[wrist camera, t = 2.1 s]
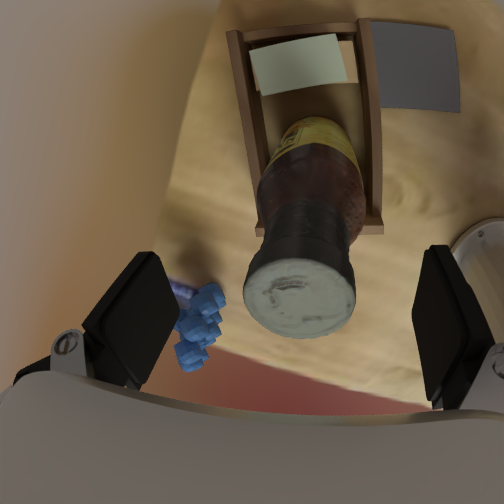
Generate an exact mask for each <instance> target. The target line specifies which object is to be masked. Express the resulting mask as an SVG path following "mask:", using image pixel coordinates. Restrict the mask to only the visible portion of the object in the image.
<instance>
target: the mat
mask: <svg viewBox="0 0 504 504" xmlns="http://www.w3.org/2000/svg"><path fill="white" fill-rule="evenodd" d="M370 26H371V32H372V38H373V45H374V52H375V60H376V68H377V77H378V87H379V98H380V108H406V109H423V110H435V111H446V112H455V113H460V87H459V73H458V62H457V52H456V45H455V37H454V31H453V30H448V29H442V28H436V27H429V26H422V25H413V24H404V23H391V22H372V21H370Z"/></svg>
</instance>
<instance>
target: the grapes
mask: <svg viewBox="0 0 504 504" xmlns="http://www.w3.org/2000/svg"><path fill="white" fill-rule="evenodd" d="M198 292H199V294H197V295H195V296H193V297H192V298H190V299H189V301H190V304H191V306H190V309H188V310H186V309H180V316H179V318H178V320H177V322H176V324H175V326H174V328H173V329H175V330H176V331H178V332H179V335H180V339H181V342H179V343H177V344H176V345H174V348H175V351H176V356H177V359H178V362H179V365H180V367H181V368H182V369H183V370H184V371H186V372H191V371H195V370H197V369H199V368H200V367H202V366H204V364H203V361H205V360H207V359H208V358H209V356H208V353H207V351H206V349H205V347H207V346H209V345H210V344H212V343H214V342H215V341H216V339H215V338H216V337H218V336H220V335H221V331H220V328H219V326H218V324H219V323H220V322H222V321H223V320H222V317H221V315H220V313H219V311H218V310H219V309H220V308H222V307H224V306H225V305H226V302H225V296H224V293H223V291H222V289H221V288H220V286H219V285H218V284H217V283H209V284H206V285H205V286H203V287H201V288H200V289H199V290H198Z"/></svg>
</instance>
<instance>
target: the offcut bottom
mask: <svg viewBox="0 0 504 504" xmlns="http://www.w3.org/2000/svg"><path fill="white" fill-rule="evenodd" d="M338 44H339V48H340V51H341V55H342V59H343V63H344V67H345V71H346V75H347V79H348V81H343V82H336V83H329V84H337V83H358V75H357V68H356V61H355V54H354V48H353V42H352V41H338ZM250 58H251V56H250ZM251 64H252V69H253V74H254V80H255V85H256V91H261V90H260V87H259V83H258V80H257V76H256V73H255V70H254V66H253V63H252V60H251Z"/></svg>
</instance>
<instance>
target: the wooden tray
mask: <svg viewBox="0 0 504 504" xmlns="http://www.w3.org/2000/svg"><path fill="white" fill-rule="evenodd" d="M328 34H336V36H354V40H355V46H356V53H357V60H358V68H359V76H360V85H361V95H362V106H363V119H364V135H365V157H366V196H365V199H366V215H365V224H364V226H363V228H362V231H361V232H360V233H359V235H368V234H384V224H383V221H382V218H381V213H382V130H381V112H380V98H379V87H378V77H377V68H376V60H375V52H374V45H373V38H372V32H371V26H370V21H369V18H358V19H357V21H356V23H320V24H305V25H294V26H285V27H277V28H269V29H263V30H256V31H250V32H245V33H242V32H240V31H238V30H232V31H227V32H226V36H227V42H228V47H229V53H230V58H231V64H232V69H233V75H234V80H235V86H236V92H237V97H238V103H239V108H240V114H241V120H242V126H243V131H244V137H245V143H246V149H247V155H248V160H249V166H250V172H251V178H252V184H253V190H254V196H255V202H256V208H257V214H258V222H257V225H256V227H255V232H256V237H261V236H264V233H265V231H264V227H263V224H262V220H261V217H260V213H259V210H258V206H257V201H256V194H257V188H258V184H259V182H260V179H261V177H262V175H263V173H264V171H265V169H266V167H267V165H268V164H269V162H270V158H269V151H268V144H267V138H266V131H265V125H264V118H263V112H262V106H261V100H260V93H259V91H256V85H255V80H254V74H253V69H252V64H251V58H250V53H249V51H251V50H252V47H251V44H255V43H262V42H269V41H276V40H284V39H294V38H305V37H315V36H321V35H328Z"/></svg>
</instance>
